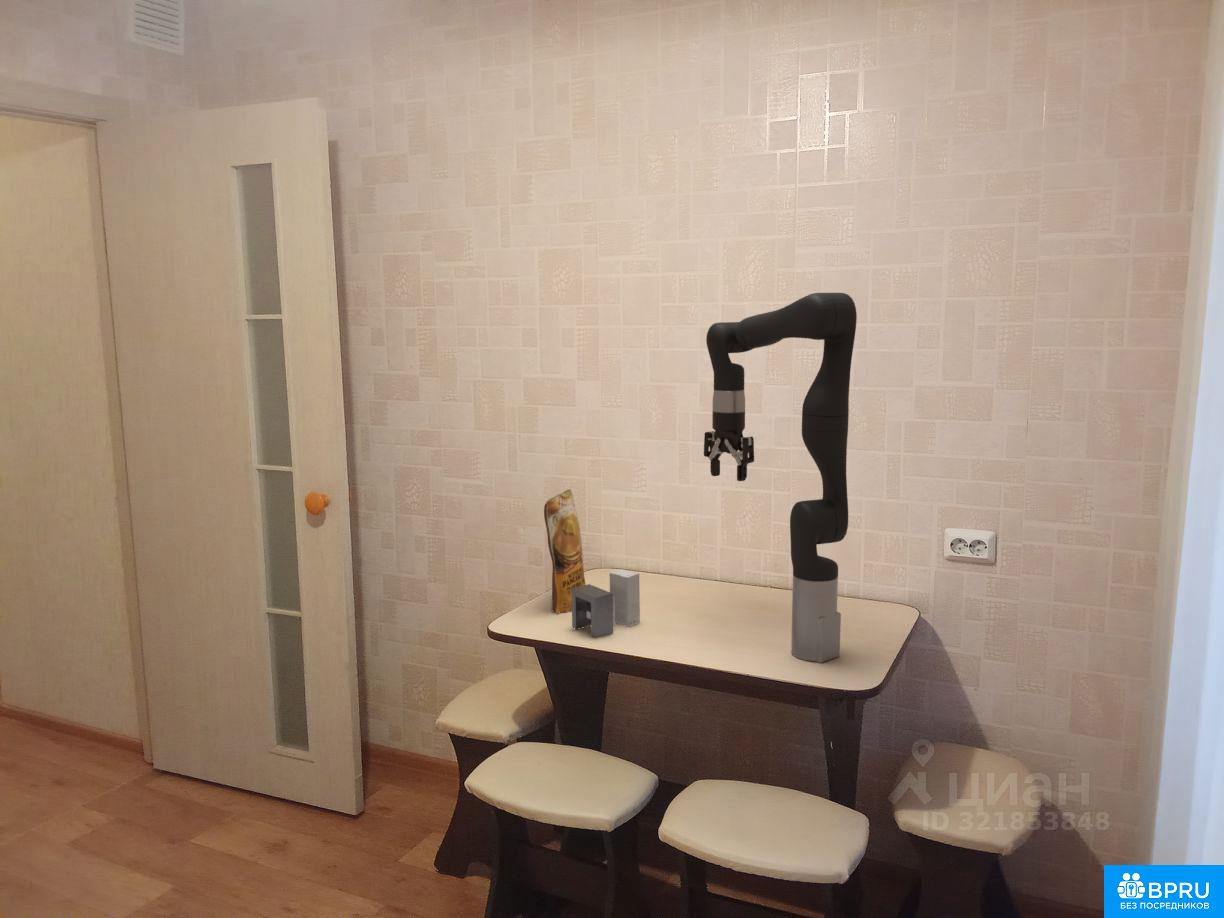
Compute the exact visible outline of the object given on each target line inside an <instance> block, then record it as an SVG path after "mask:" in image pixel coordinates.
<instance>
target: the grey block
mask: <svg viewBox="0 0 1224 918" xmlns="http://www.w3.org/2000/svg"><path fill="white" fill-rule="evenodd" d="M586 615H587V618H589V619H591V610H588V611H586ZM614 627H616V623H615V597H614V596H613V628H614Z"/></svg>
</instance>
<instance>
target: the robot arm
mask: <svg viewBox="0 0 1224 918" xmlns="http://www.w3.org/2000/svg"><path fill="white" fill-rule="evenodd" d="M857 316H858V315H857V307H856V303H855V302H854V300H853V298H852V297H851V296H850V294H847V293H844V292H815V293H811V294H810V293H809V294H807V295H805V296H804V297H801V298H799V299H797V300H795V301H794V302H792V303H790V304H788V305H786V306H784V307H782V308H778V309H776V310H773V311H772V310H771V311H769V312H763V313H758V314H756V315H752V316H748V317H745V318H743V319H742V320H740V321H733V322H732V321H731V322H729V321H727V322H715V323H713V324H711V326H710V327H709V328H708V330H707V333H706V339H705V340H706V341H705V342H706V347H707V351H708V354H709V359H710V362H711V367H712V371H713V394H712V414H711V415H712V417H711V419H712V420H711V421H712V423H711V425H712V426H711V427H712V429H713V430H714V431H713V430H711V431H705V432H704V439H703V440H704V441H703V442H704V443H703V456H704V458H706V457H707V458H708V459H709V460H710V466H709V467H710V468H709V469H710V471H709V472H710V475H711V476H712V477H718V476H720V474H721V459H720V458H721V456H722V455H723V454H724V453H726V454H730V455H731V457H732V458H734V460H735V461H736V463H737V465H736V481H738V482H743V481H744V482H745V481H746V479H747V477H748V464H749V465H750V463H751V464H752V463H754V462H755V443H754V442H755V441H754V440H755V439H754V437H753V436H746V437H745V436H744V435H743V432H744V430H745V428H746V395H745V368H744V367H743V365H741V364H739V363H734V362H732V361H731V358H730V354H740V353H746V352H749V351H752V350H754V349H759V348H763V347H768V346H772V345H775V344H777V343H779V342H782V340H784V339H792V338H794V339H808V340H809V339H810V340H815V341H817V340H818V341H822V340H823V352H822V360H821V365H820V368H819V370H818V372H817V374H816V376H815V377H814V379H813V381H812V384H811V386H810V387H809V389H808V391H807V393H806V395H805V397H804V400H803V403H802V409H801V437H802V441H803V442H804V445H805V447H806V449H807V451H808V453H809V454H810V457H811V458H812V460H813V461H814V463H815V464H816V467H817V468H818V470H819V473H820V477H821V481H822V498H821V499H820V498H819V499H810V500H808V499H807V500H801V501H798V502H796V503H795V504H794V505H793V506H792V509H791V512H790V517H789V534H790V535H789V536H790V557H791V558H790V559H791V564H792V590H791V591H792V596H791V597H792V598H791V599H792V601H791V648H790V649H791V655H793V656H795V657H796V658H798V659H800V660H804V661H811V662H818V663H821V664H822V663H824V662H827V661H830V660H832V659H836V658H837V657H840V655H841V652H840V651H841V625H842V623H841V621H842V619H841V618H842V617H841V616H842V614H841V613H840V612H839V611H838V590H839V589H838V585H839V565H838V563H837V562H836V561H835V560H833V559H831V558H829V557H825V556H822V555H821V556H820V555H818V547H817V546H818V545H825V544H832V543H839V542H840V541H843V540H844V538H845V537H846V535H847V532H848V528H849V501H848V499H849V498H848V484H847V483H848V482H847V479H848V478H847V457H848V456H847V455H848V454H847V453H848V451H847V450H848V436H849V435H848V434H849V414H850V412H849V409H850V408H849V405H850V404H849V403H850V401H849V400H850V399H849V398H850V382H851V381H850V380H851V368H852V359H853V351H854V344H855V337H856V331H857V330H856V329H857V320H858V317H857Z"/></svg>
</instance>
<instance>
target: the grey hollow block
mask: <svg viewBox="0 0 1224 918" xmlns="http://www.w3.org/2000/svg"><path fill="white" fill-rule="evenodd" d="M588 610H591V619H589V618H587V615H586V611H588ZM571 623H572V624H571V625H572V626H571V627H573V628H572V629H574V628H575V629H574V630H576V629H577V630H579V629H578V628H581V629H583V628H582V627H584V628H588V627H590V625H591V629H590V630H591V638H593V639H595V640H596V639H600V638H603V637H607V636H610V635H614V627H613V593H610V591H609V590H605V589H603V588H600V587H598V586H595V585H592V584H589V583H588V584H586V585H584V586H579V587H575V588H572V610H571ZM587 626H588V627H587Z"/></svg>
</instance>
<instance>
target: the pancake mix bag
mask: <svg viewBox="0 0 1224 918" xmlns="http://www.w3.org/2000/svg"><path fill="white" fill-rule="evenodd" d="M571 490H572V489H567V490H564V491H562V492H561V493H559V494H556V495H555V496H554V497H551V498H550V499H548V500H547V501H546V502H545V504H544V506H543V507H544V508H543V509H544V510H543V517H544V522H545V527H546V534H547V535H546V536H547V547H548V551H549V554H550V557H551V558H550V559H551V563H552V574H551V575H552V576H551V580H552V581H551V588H552V589H551V591H552V594H551V595H552V596H551V597H552V598H551V611H552V610H553V611H554V612H553V611H552V612H553V614H555V613H556V614H555V615H558V614H560V613H559V612H563V613H568V612H570V611H572V610H571V609H572V588H575V587H579V586H584V585H587V584H586V578H585V571H584V570H585V569H584V559H583V558H584V557H583V546H582V543H583V542H582V537H581V529H580V521H579V517H578V512H577V510H576V509H577V508H576V506H575V502H574V497H573V492H572V491H571ZM569 610H570V611H569ZM567 611H568V612H567ZM557 613H558V614H557Z"/></svg>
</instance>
